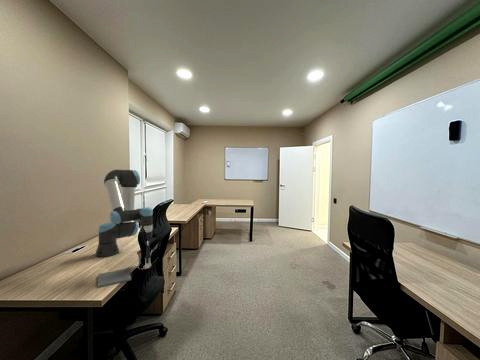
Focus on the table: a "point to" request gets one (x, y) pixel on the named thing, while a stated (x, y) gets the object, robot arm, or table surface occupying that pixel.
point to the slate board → (113, 277)
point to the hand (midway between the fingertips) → (145, 265)
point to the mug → (140, 260)
